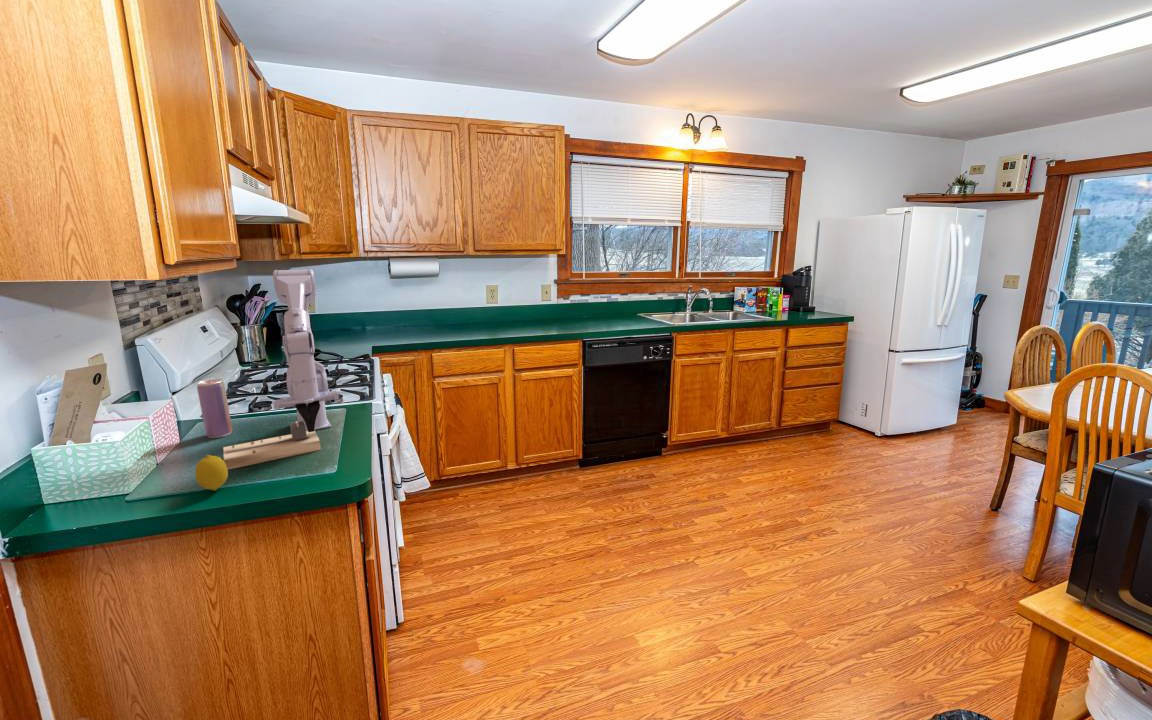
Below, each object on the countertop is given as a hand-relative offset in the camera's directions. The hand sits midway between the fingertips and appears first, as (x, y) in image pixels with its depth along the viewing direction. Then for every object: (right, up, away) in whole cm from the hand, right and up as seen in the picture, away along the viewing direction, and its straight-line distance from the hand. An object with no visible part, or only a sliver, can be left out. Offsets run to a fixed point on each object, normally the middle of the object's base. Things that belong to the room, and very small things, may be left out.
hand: (311, 430), depth 131 cm
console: (-7, -5, -4) cm, 10 cm away
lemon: (-9, -10, -22) cm, 26 cm away
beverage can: (-29, -2, +9) cm, 31 cm away
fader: (-2, -1, -1) cm, 3 cm away
